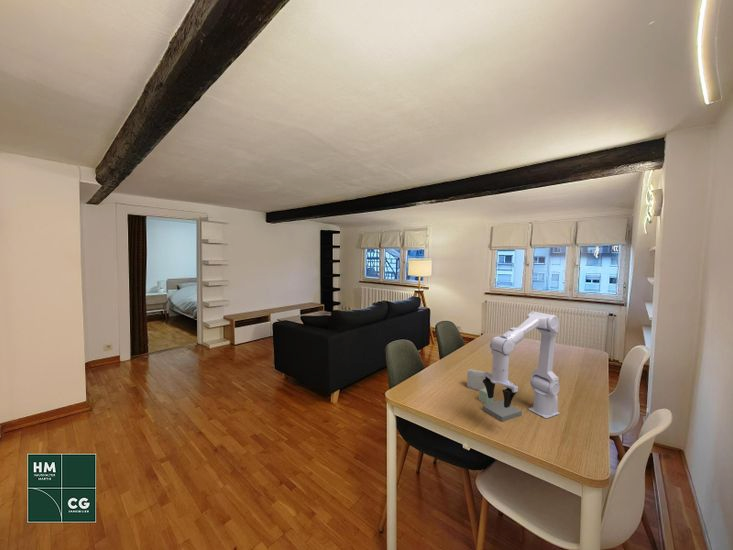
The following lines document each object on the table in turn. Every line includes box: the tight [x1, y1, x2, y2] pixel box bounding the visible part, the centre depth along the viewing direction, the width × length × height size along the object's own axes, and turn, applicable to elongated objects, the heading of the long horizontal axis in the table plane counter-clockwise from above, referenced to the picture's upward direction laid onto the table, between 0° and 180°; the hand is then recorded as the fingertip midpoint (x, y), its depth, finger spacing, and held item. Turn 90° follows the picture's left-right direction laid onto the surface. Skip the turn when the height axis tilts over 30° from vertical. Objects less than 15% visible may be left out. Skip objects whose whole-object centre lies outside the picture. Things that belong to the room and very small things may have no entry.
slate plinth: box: [481, 400, 523, 422], centre depth 123 cm, size 12×10×2 cm
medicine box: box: [466, 368, 486, 391], centre depth 146 cm, size 8×4×9 cm, turn 59°
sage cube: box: [478, 387, 495, 405], centre depth 132 cm, size 4×4×5 cm
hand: (498, 402), depth 111 cm, fingers open, 7 cm apart
